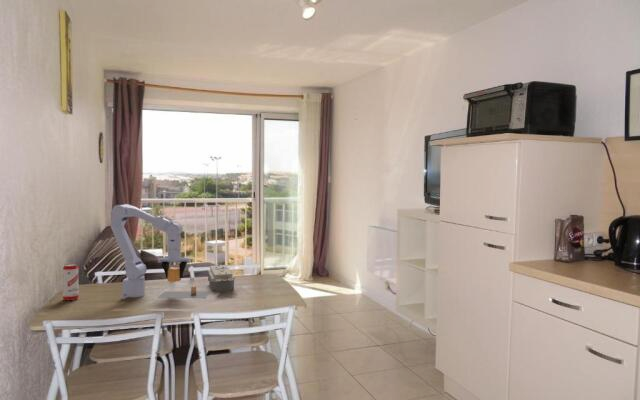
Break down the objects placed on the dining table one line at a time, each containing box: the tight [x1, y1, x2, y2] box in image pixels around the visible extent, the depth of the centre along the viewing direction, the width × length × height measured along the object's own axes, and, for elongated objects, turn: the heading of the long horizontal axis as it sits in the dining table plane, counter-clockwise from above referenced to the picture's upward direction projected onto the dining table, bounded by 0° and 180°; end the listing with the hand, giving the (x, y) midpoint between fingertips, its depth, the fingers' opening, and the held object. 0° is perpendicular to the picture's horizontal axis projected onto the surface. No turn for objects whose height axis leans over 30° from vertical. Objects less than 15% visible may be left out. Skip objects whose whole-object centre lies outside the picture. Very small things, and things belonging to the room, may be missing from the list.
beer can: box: [62, 263, 80, 301], centre depth 204 cm, size 6×6×16 cm
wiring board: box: [157, 285, 211, 299], centre depth 211 cm, size 22×12×5 cm, turn 93°
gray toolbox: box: [207, 264, 236, 293], centre depth 229 cm, size 12×28×10 cm, turn 20°
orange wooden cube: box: [167, 267, 182, 283], centre depth 209 cm, size 6×6×6 cm
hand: (174, 277), depth 209 cm, fingers closed on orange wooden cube, 6 cm apart
